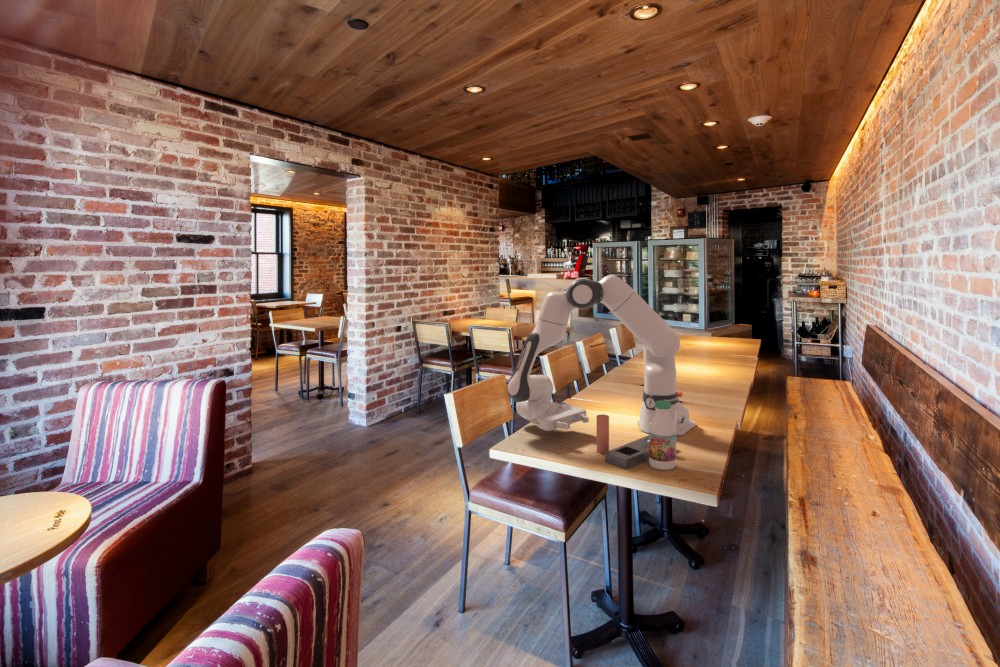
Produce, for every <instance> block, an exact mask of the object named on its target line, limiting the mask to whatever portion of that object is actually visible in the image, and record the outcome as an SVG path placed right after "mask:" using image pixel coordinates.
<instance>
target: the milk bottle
mask: <svg viewBox="0 0 1000 667" xmlns="http://www.w3.org/2000/svg"><path fill="white" fill-rule="evenodd" d="M655 409H656V412H655V415H654V417H653V419H652V421H651V424H650V430H649V433H648V434H649V459H648V464H649V466H650V467H651V468H653V469H655V470H658V471H659V470H660V471H670V470H672V469H675V468H676V458H677V457H676V456H677V435H676V428H675V424H674V422H673V420H672V417H671V414H670V410H671V402H669V401H665V400H659V401H656V402H655Z"/></svg>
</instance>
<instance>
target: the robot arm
mask: <svg viewBox="0 0 1000 667" xmlns="http://www.w3.org/2000/svg"><path fill="white" fill-rule="evenodd" d="M599 303H601V304H603V305H604V306H605V308H607V309H608V310H609V311H610V312H611V314H613V315H614V317H615V318H617V319H618V320H619V321H620V322H621V323H622V325H624V326H625V327H626V328H627V329H628V331H630V332H631V333H632V335H633V337H635V338H636V339H637V340H638V341H639V342H640V343H641V344H642V352H643V354H642V355H643V368H644V370H643V371H644V379H643V380H644V382H643V384H644V386H643V387H644V388H643V391H642V403H641V406H640V410H639V411H640V413H639V420H637V423H636V424H637V425H638V426H639V428H638V429H639V430H640V431H642V432H644V433H645V434H649V430H650V422H651V421H652V419H653V417H654V415H655V412H656V409H655V402H656V401H659V400H665V401H669V402H671V410H670V414H671V417H672V420H673V422H674V424H675V428H676V436H684V435H685V434H686V433H688V432H689V431H690V430H691V429H693V428H694V427H696V426H697V423H696V421H694V420H692V419H690V411H689V410H688V408H687V407H685V405H683V404H682V403H681V402H680V401H679V398H682V397H683V392H682V391H679V390H677V368H676V361H675V355H676V354H677V353H678V351H679V350H680V344H681V342H680V336H679V334H678V333H677V331H676V330H674V329H673V328H672V327H671V326H670V325H669V324H668V323H667V322H666V320H664V319H663V318H662V316H660V315H659V314H658V313H657V312H656V311H655V310H654V308H652V307H651V306H650V305H649V304H648V303H647V302H646V301H645V300H644V299H643V298H642V296H640V295H639V294H638V293H637V292H636V291H635V290H634V289H633V288H632V287H631V286H630V284H628V283H626V281H624V280H623V279H621V278H620V277H618V276H617V275H616V274H615V275H614V274H608V275H606V276H604V277H602V278H601V279H600V280H599V281H595V280H591V279H589V278H587V277H579V278H576V279H574V280H572V281H571V282H570V284H568V287H567V288H566V289H564V291H555V290H554V291H550V292H548V293H547V294H546V296H545V298H544V300H543V302H542V304H541V308H540V310H539V313H538V314H539V315H538V318H537V322H536V324H535V326H534V328H533V330H532V332H531V333H530V334H528V336H527V337H526V338H525V341H524V343H523V345H522V348H521V352H520V354H519V357H518V360H517V362H516V365H515V368H514V369H513V372H512V374H511V376H510V377H509V379H508V382H507V386H506V388H507V394H508V395H509V397H510V398H511V400H513V401H514V402H516V405H515V408H516V410H515V411H516V412H517V414H518V415H519V416H520V417H522V418H523V419H525V420H527V421H529V422H531V423H532V424H535V425H536V427H537V428H539V429H540V430H544V431H545V432H551V431H553V430H557V429H564V430H569V429H570V428H571V425H572V424H576V423H578V422H582V423H584V424H587V423H589V421H590V420H589V419H590V418H589V417H588V416H587V410H586V409H585V408H583V407H581V406H577V405H573V404H570V403H569V402H565V401H564V402H554V401H553V402H551V400H552V397H553V396H552V395H553V391H554V390H553V389H554V386H553V381H552V380H551V378H550V377H549V376H547V375H545V374H531V373H532V369H533V366H534V364H535V361H536V358H538V357H537V356H538V355H539V354H540V353H541V352H542V351H544V350H546V349H548V348H550V347H552V346H556V345H558V344H559V343H560V342H561V341H562V340H563V339H564V336H565V335H566V332H567V328H568V324H569V319H570V315H571V313H572V311H574V309H579V310H585V309H588V308H591V307H593V306H595V305H597V304H599Z"/></svg>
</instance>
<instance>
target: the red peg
mask: <svg viewBox="0 0 1000 667" xmlns="http://www.w3.org/2000/svg"><path fill="white" fill-rule="evenodd" d="M608 451H610V416H609V415H608V414H597V415H596V452H597V453H598V454H602V455H605V452H608Z"/></svg>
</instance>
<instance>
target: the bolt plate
mask: <svg viewBox="0 0 1000 667" xmlns="http://www.w3.org/2000/svg"><path fill="white" fill-rule="evenodd" d="M650 424H651V422H650ZM647 459H648V460H649V435H645V436H644V437H642V438H638V439H635V440H633V441H631V442H629V443H626V444H623V445H621V446H618V447H616V448H613V449H611V450H610V449H609V451H608V452H605V454H604V462H605V463H608V464H610V465H613V466H616V467H619V468H622V469H624V470H628V469H630V468H633V467H635V466H637V465H639V464H641V462H642V463H643V461H644V462H646V461H648V460H647ZM645 460H646V461H645Z"/></svg>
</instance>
